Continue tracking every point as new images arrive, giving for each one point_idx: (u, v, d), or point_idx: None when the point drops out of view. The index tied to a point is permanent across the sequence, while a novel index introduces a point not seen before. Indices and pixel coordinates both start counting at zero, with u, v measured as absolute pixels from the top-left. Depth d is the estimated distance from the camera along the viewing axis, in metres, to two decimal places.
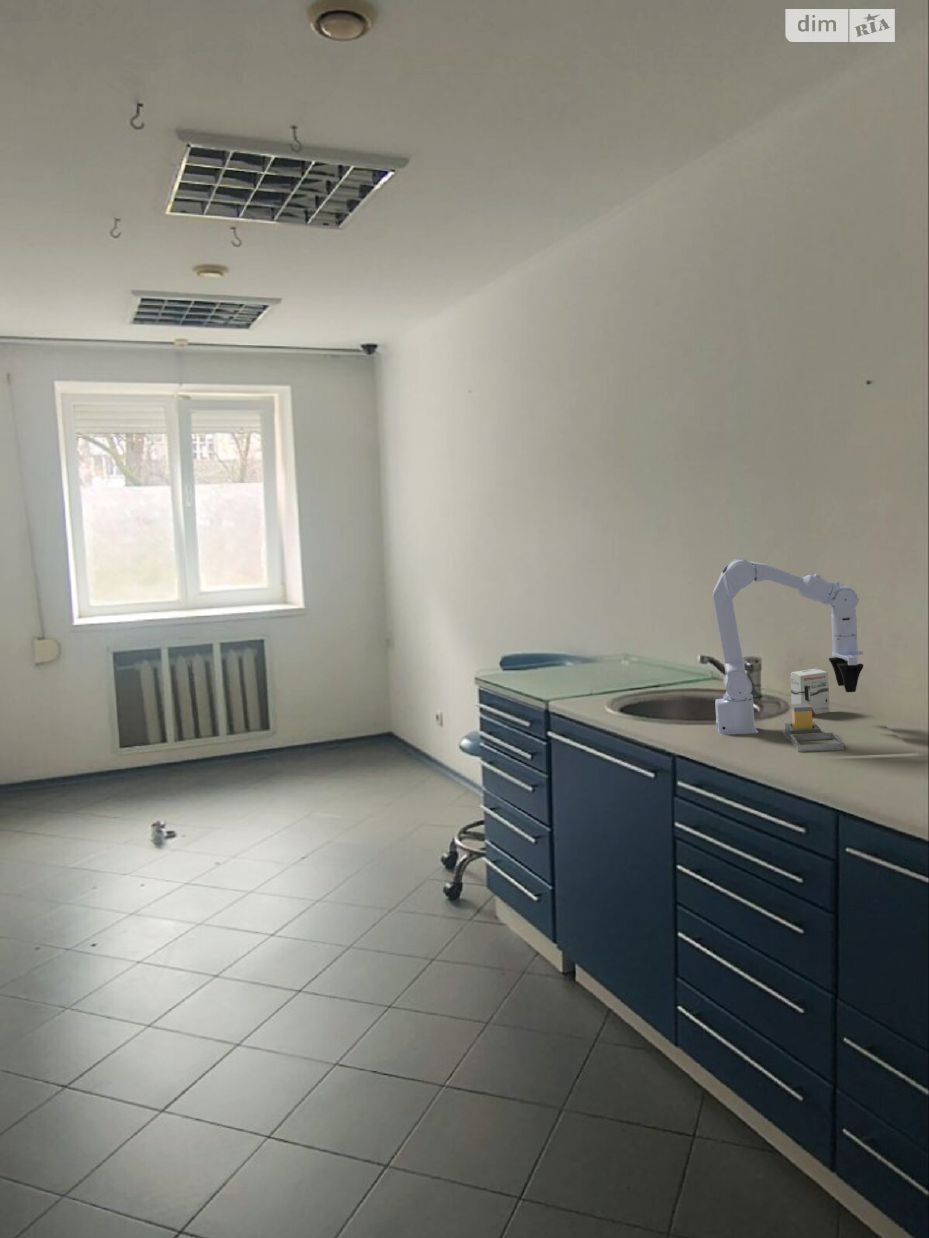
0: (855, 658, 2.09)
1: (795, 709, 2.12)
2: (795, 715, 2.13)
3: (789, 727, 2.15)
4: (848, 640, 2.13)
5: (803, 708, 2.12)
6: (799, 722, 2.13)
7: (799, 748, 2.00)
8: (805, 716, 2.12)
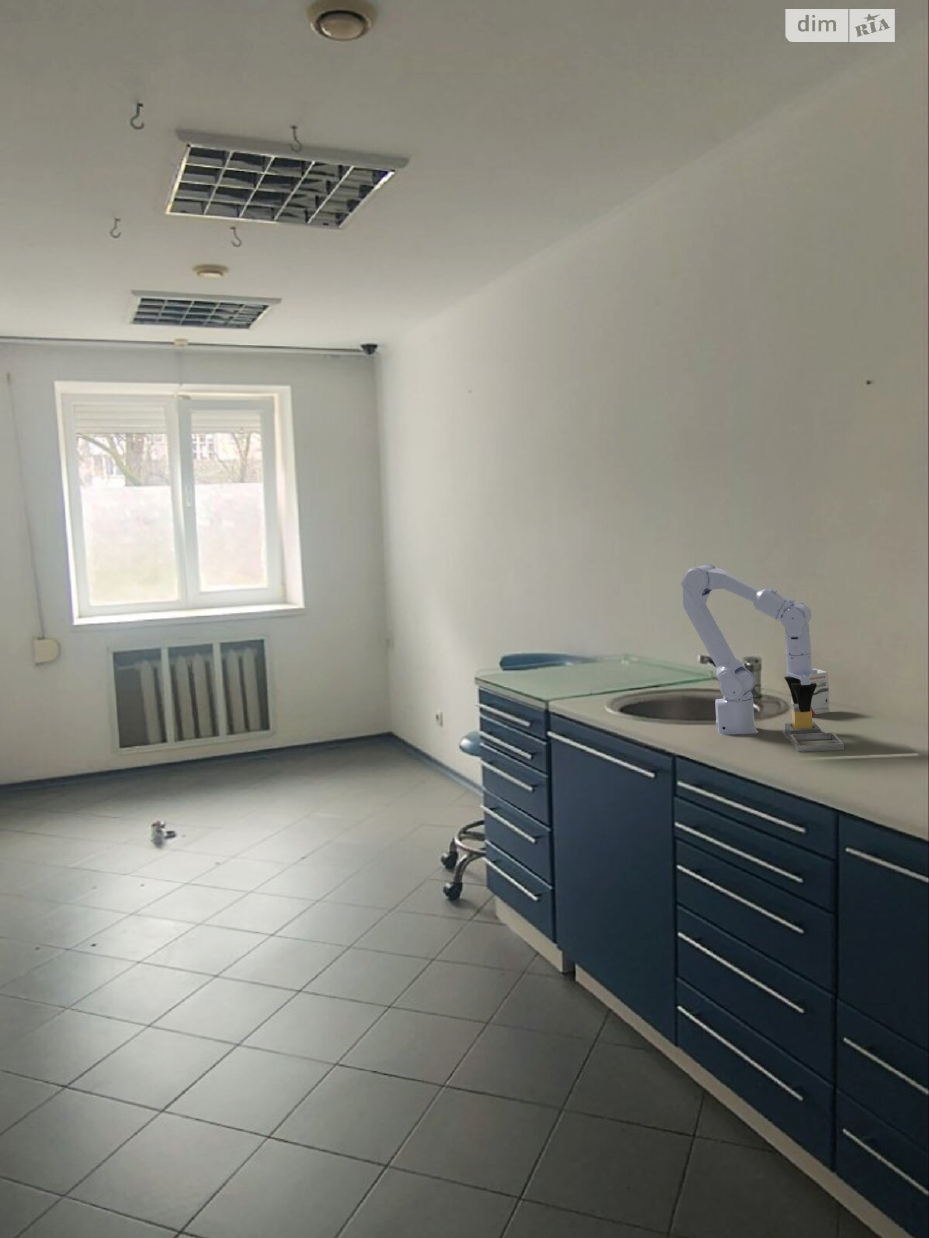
0: (808, 678, 2.06)
1: (795, 709, 2.12)
2: (795, 715, 2.13)
3: (789, 727, 2.15)
4: (802, 659, 2.10)
5: None
6: (799, 722, 2.13)
7: (799, 748, 2.00)
8: (805, 716, 2.12)
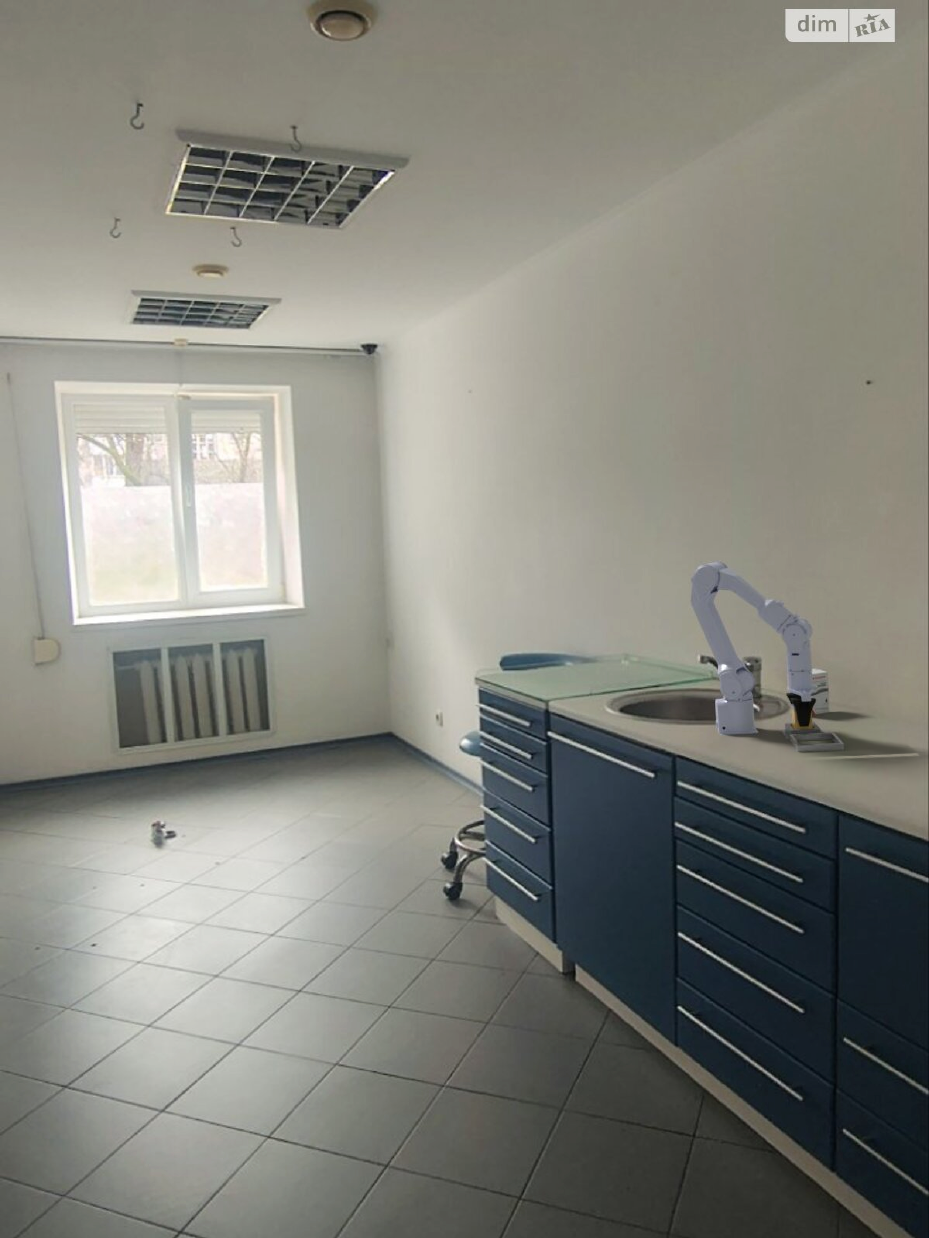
0: (809, 694, 2.06)
1: None
2: (795, 715, 2.13)
3: (789, 727, 2.15)
4: (802, 675, 2.10)
5: None
6: None
7: (799, 748, 2.00)
8: None
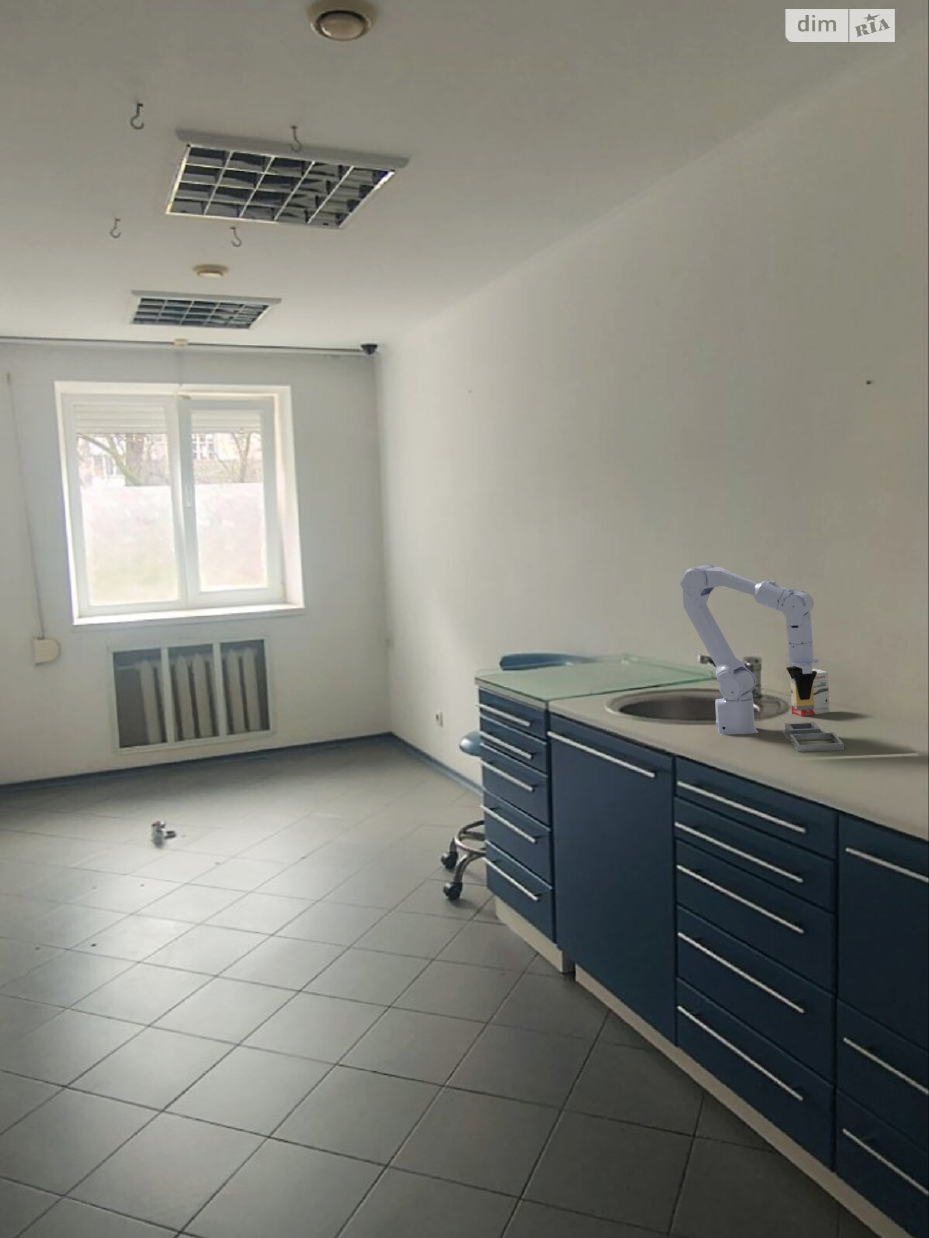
0: (809, 666, 2.04)
1: None
2: (796, 689, 2.10)
3: (789, 727, 2.15)
4: (803, 648, 2.08)
5: None
6: None
7: (799, 748, 2.00)
8: None
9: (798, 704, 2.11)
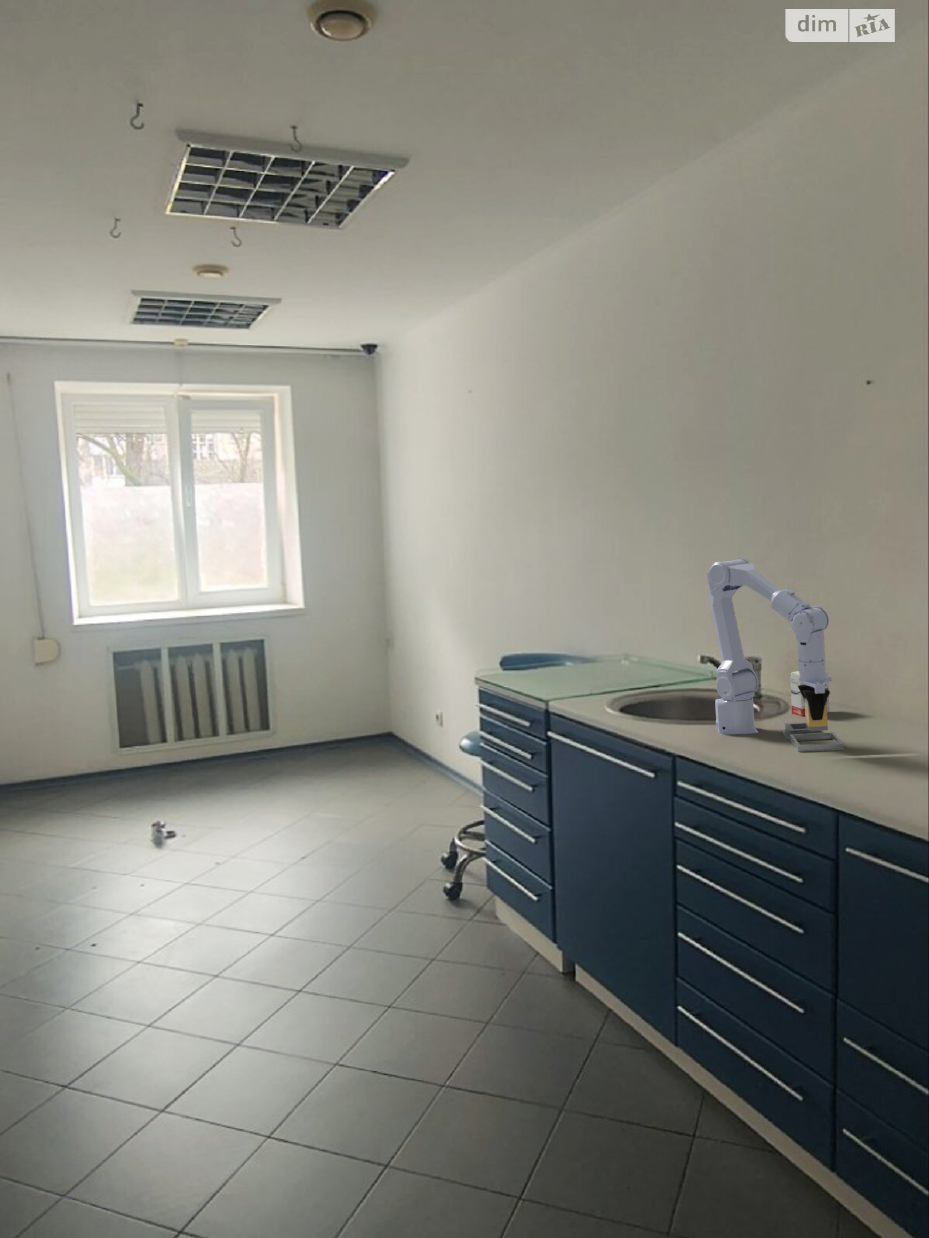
0: (822, 686, 1.95)
1: None
2: (809, 709, 2.02)
3: (789, 727, 2.15)
4: (815, 666, 1.99)
5: None
6: None
7: (799, 748, 2.00)
8: None
9: (811, 725, 2.02)
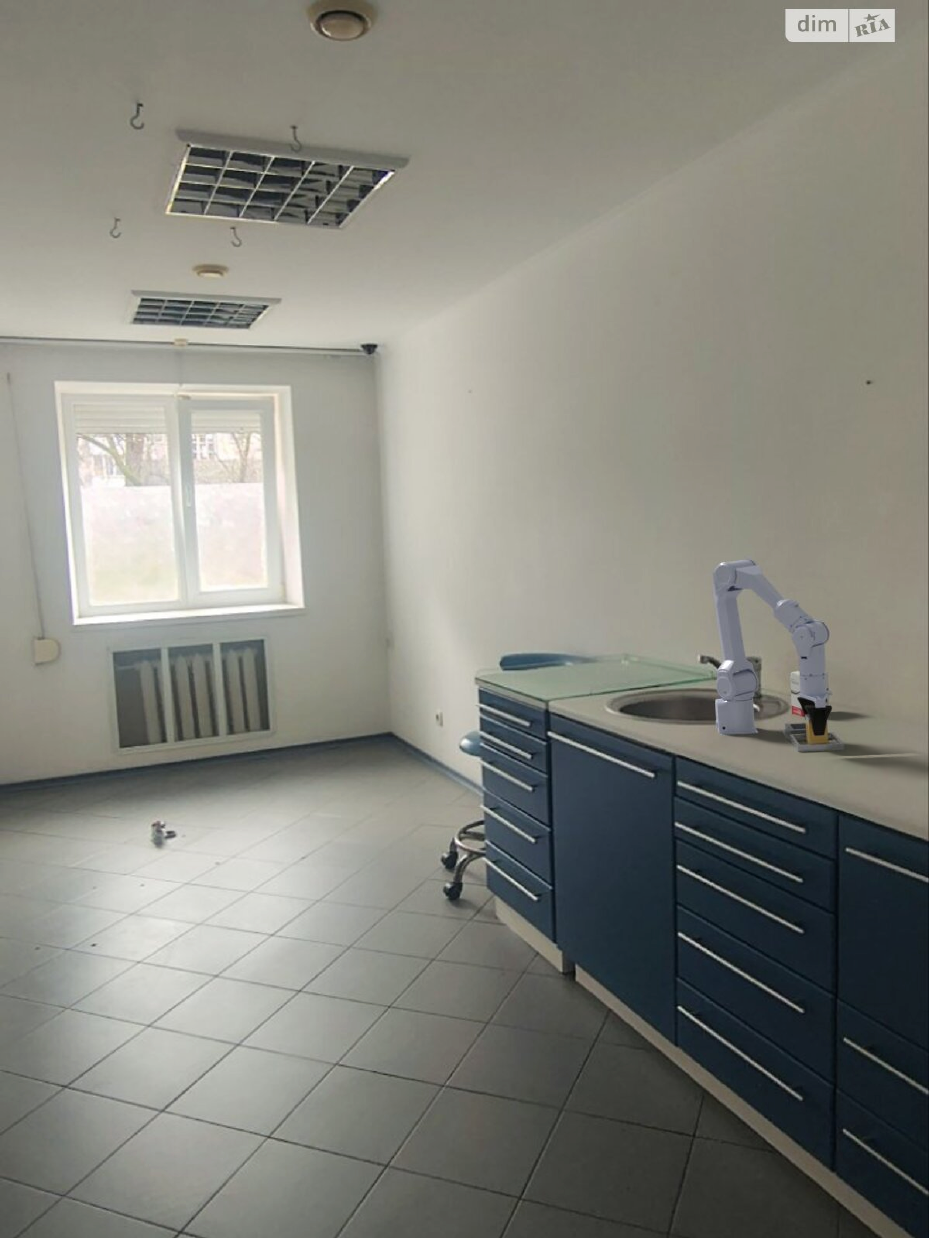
0: (823, 700, 1.96)
1: (809, 720, 2.02)
2: (809, 726, 2.02)
3: (789, 727, 2.15)
4: (816, 680, 2.00)
5: None
6: (813, 733, 2.02)
7: (799, 748, 2.00)
8: None
9: (811, 742, 2.03)
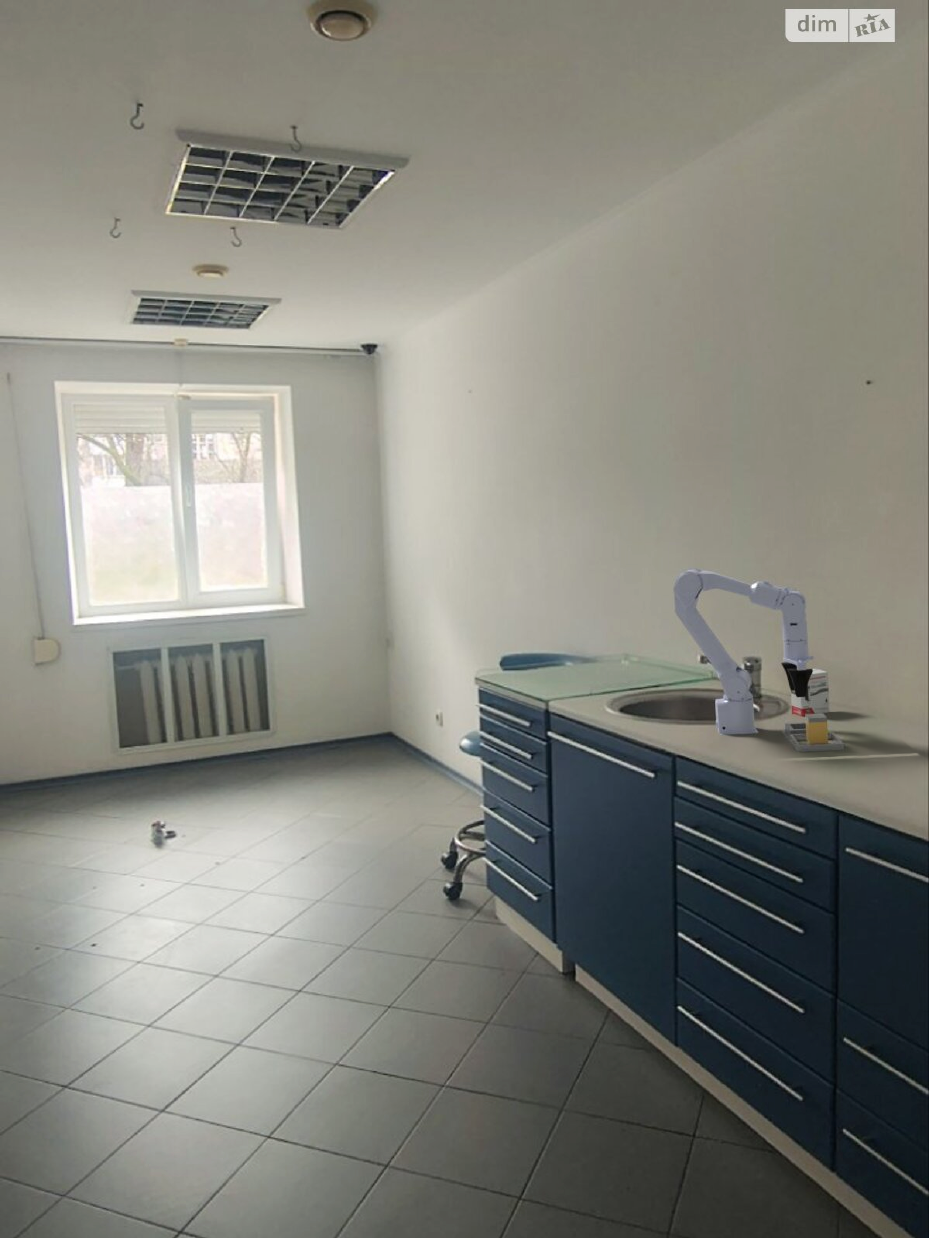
0: (804, 663, 2.09)
1: (809, 720, 2.02)
2: (809, 726, 2.02)
3: (789, 727, 2.15)
4: (798, 645, 2.13)
5: (818, 719, 2.02)
6: (813, 733, 2.02)
7: (799, 748, 2.00)
8: (820, 727, 2.02)
9: (811, 742, 2.03)
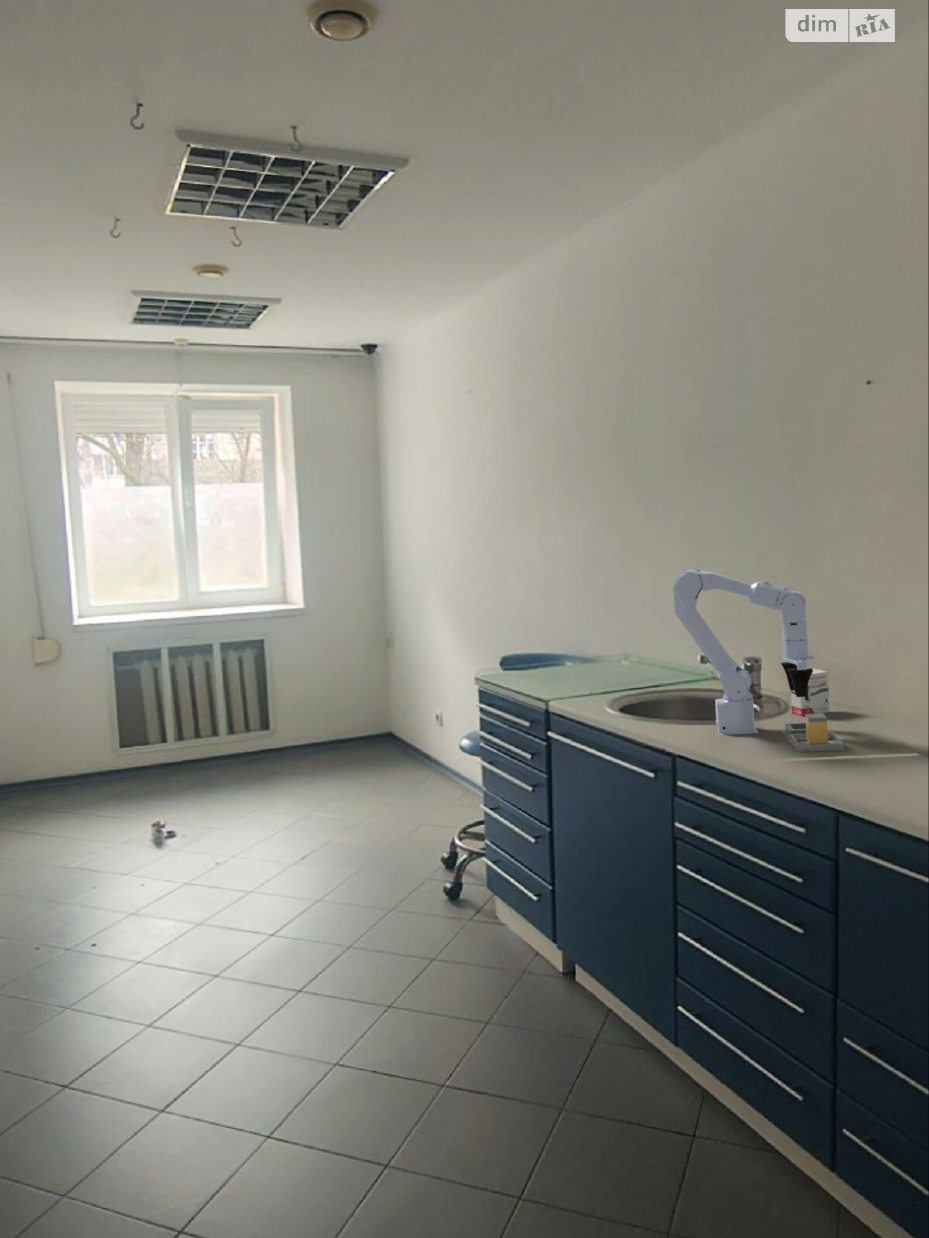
0: (804, 663, 2.09)
1: (809, 720, 2.02)
2: (809, 726, 2.02)
3: (789, 727, 2.15)
4: (798, 645, 2.13)
5: (818, 719, 2.02)
6: (813, 733, 2.02)
7: (799, 748, 2.00)
8: (820, 727, 2.02)
9: (811, 742, 2.03)
